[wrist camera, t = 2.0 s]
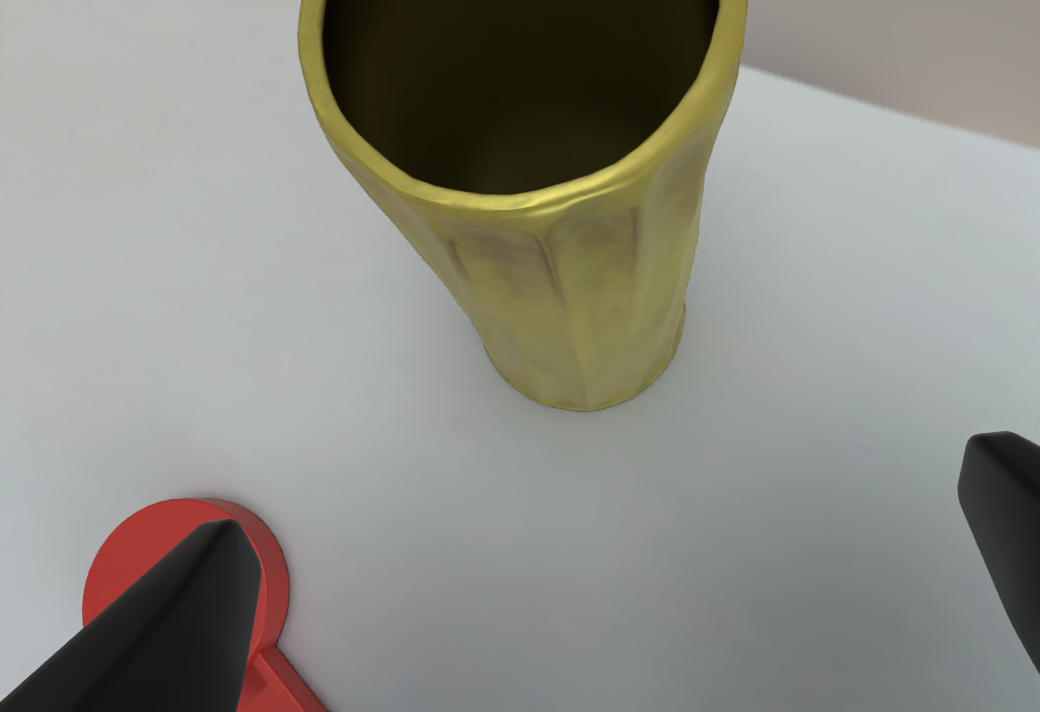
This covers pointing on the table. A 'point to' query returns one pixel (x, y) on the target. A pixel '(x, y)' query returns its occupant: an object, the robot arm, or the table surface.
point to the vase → (537, 164)
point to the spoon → (269, 677)
